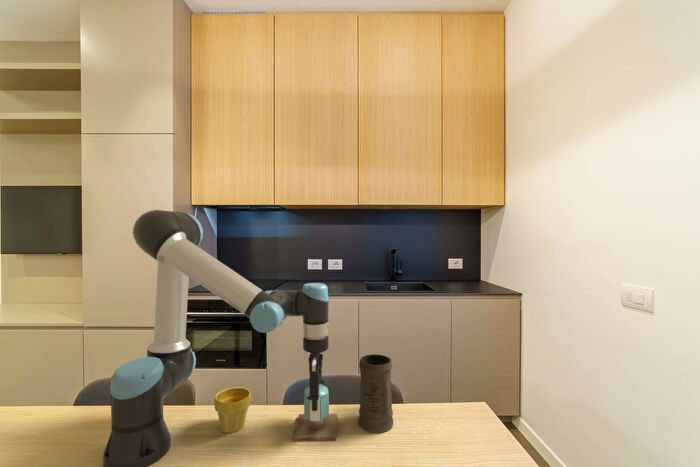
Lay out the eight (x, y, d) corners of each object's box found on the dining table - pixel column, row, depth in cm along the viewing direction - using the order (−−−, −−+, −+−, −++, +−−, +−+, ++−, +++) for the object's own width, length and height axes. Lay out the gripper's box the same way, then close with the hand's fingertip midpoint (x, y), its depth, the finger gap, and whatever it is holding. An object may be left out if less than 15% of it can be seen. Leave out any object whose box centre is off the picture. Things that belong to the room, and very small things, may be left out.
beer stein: (395, 435, 98) (395, 364, 99) (358, 434, 98) (358, 363, 99) (390, 410, 113) (390, 349, 114) (358, 410, 113) (358, 348, 114)
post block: (292, 440, 95) (292, 415, 95) (298, 417, 107) (298, 395, 107) (335, 440, 95) (335, 415, 95) (337, 417, 107) (336, 394, 107)
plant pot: (256, 418, 107) (256, 387, 107) (242, 438, 97) (242, 403, 96) (224, 416, 108) (224, 385, 108) (207, 436, 98) (207, 402, 98)
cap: (303, 420, 98) (302, 396, 98) (306, 407, 105) (305, 385, 105) (328, 420, 98) (327, 395, 98) (329, 407, 105) (329, 384, 105)
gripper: (326, 347, 91) (326, 432, 91) (330, 326, 111) (330, 396, 111) (298, 347, 91) (298, 433, 91) (307, 326, 111) (307, 396, 111)
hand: (316, 412), depth 101 cm, fingers closed on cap, 7 cm apart
